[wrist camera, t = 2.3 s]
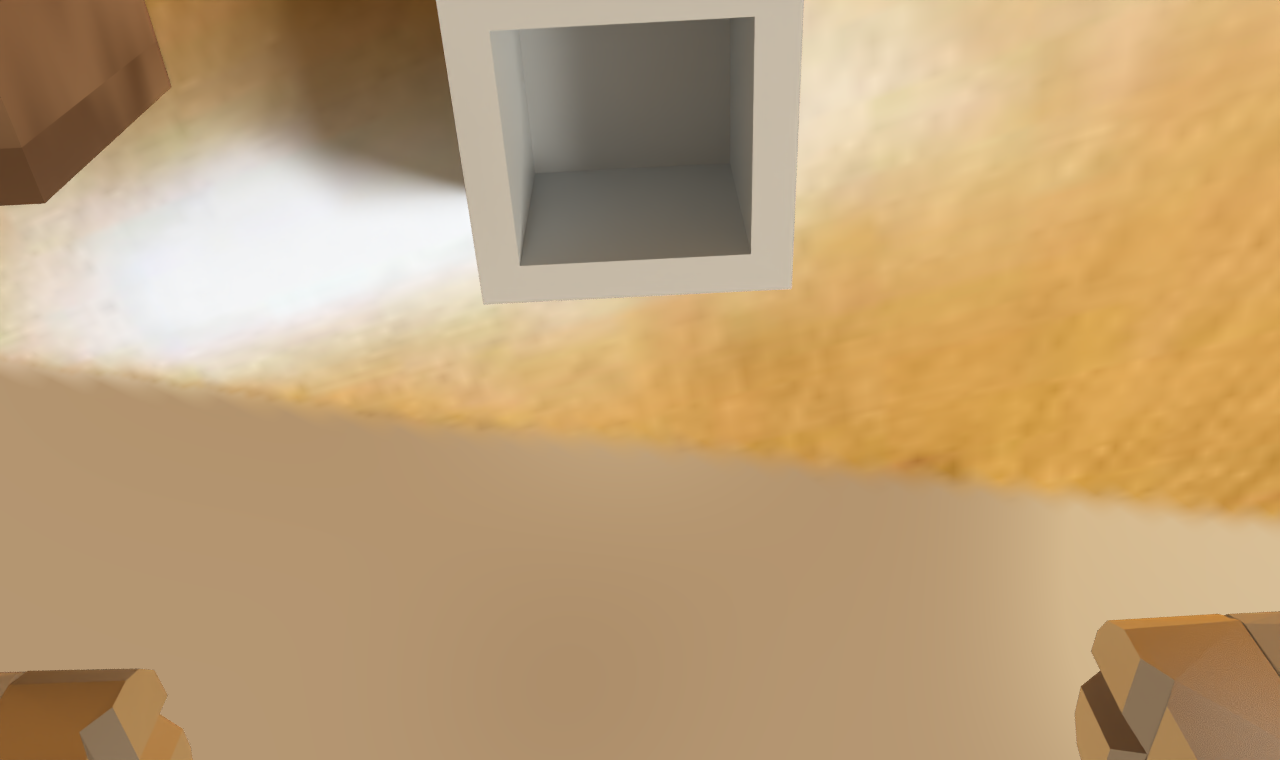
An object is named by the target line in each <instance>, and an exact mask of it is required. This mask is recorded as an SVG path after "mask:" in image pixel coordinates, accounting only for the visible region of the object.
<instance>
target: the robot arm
mask: <svg viewBox="0 0 1280 760" xmlns="http://www.w3.org/2000/svg"><path fill="white" fill-rule="evenodd" d="M1091 652H1092V654H1093V656H1094V658H1095V660H1096V662H1097V664H1098V667H1099V669H1100V671H1099V672H1098V673H1097V674H1096V675H1094V676H1093V677H1092V678H1091V679H1090V680H1089V681H1087V682H1086V683H1085V684H1083V685H1082V686H1081V688H1080V692H1079V697H1078V701H1077V705H1076V710H1075V725H1076V741H1077V747H1078V751H1079V754H1080V758H1081V760H1280V611H1279V612H1259V613H1240V614H1227V615H1220V614H1210V615H1194V616H1193V615H1192V616H1175V617H1159V618H1142V619H1126V620H1109V621H1106V622H1105V624H1104V625H1103V626H1102V627H1101V628H1100V629H1099V630H1098V631H1097V634H1096V637H1095V640H1094V643H1093V647H1092V650H1091ZM167 696H168V695H167V693H166V691H165V689H164V687H163V685H162V683H161V681H160V679H159V678H158V676H157V674H156V672H155V670H150V669H101V670H100V669H96V670H50V671H27V672H0V760H193V758H192V750H191V746H190V744H189V742H188V739H187V737H186V735H185V732H184V730H183V729H182V728H181V727H179V726H177V725H176V724H174V723H173V722H171V721H170V720H168V719H167V718H165V717H163V716H162V715H160V712H161V710H162V708H163V705H164V703H165V701H166V699H167Z"/></svg>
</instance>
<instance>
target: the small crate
mask: <svg viewBox="0 0 1280 760" xmlns="http://www.w3.org/2000/svg"><path fill="white" fill-rule="evenodd" d="M436 4H437V10H438V17H439V23H440V30H441V36H442V42H443V49H444V55H445V62H446V68H447V74H448V81H449V87H450V94H451V100H452V106H453V113H454V119H455V126H456V132H457V138H458V145H459V151H460V158H461V164H462V170H463V177H464V183H465V190H466V196H467V202H468V209H469V215H470V222H471V228H472V234H473V241H474V247H475V254H476V260H477V266H478V273H479V279H480V286H481V292H482V298H483V304H503V303H523V302H543V301H563V300H582V299H602V298H622V297H642V296H662V295H682V294H701V293H721V292H741V291H761V290H781V289H792V270H793V246H794V223H795V199H796V175H797V152H798V128H799V105H800V81H801V57H802V34H803V10H804V0H436Z"/></svg>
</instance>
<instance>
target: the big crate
mask: <svg viewBox="0 0 1280 760" xmlns="http://www.w3.org/2000/svg"><path fill="white" fill-rule="evenodd" d="M170 88H171V84H170V81H169V78H168V74H167V71H166V68H165V65H164V62H163V59H162V55H161V52H160V49H159V46H158V43H157V39H156V36H155V33H154V30H153V27H152V23H151V20H150V17H149V14H148V11H147V8H146V4H145V1H144V0H0V206H3V205H22V204H41V203H46V202H47V201H48V200H49V199H50V198H51V197H52V196H53V195H54V194H55V193H57V192H58V191H59V190H60V189H61V188H62V187H63V186H64V185H65V184H66V183H67V182H68V181H70V180H71V179H72V178H73V177H74V176H75V175H76V174H77V173H78V172H79V171H80V170H82V169H83V168H84V167H85V166H86V165H87V164H88V163H89V162H90V161H91V160H92V159H93V158H95V157H96V156H97V155H98V154H99V153H100V152H101V151H102V150H103V149H104V148H105V147H107V146H108V145H109V144H110V143H111V142H112V141H113V140H114V139H115V138H116V137H117V136H119V135H120V134H121V133H122V132H123V131H124V130H125V129H126V128H127V127H128V126H129V125H130V124H132V123H133V122H134V121H135V120H136V119H137V118H138V117H139V116H140V115H141V114H142V113H144V112H145V111H146V110H147V109H148V108H149V107H150V106H151V105H152V104H153V103H154V102H156V101H157V100H158V99H159V98H160V97H161V96H162V95H163V94H164V93H165V92H166V91H167V90H169V89H170Z"/></svg>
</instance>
